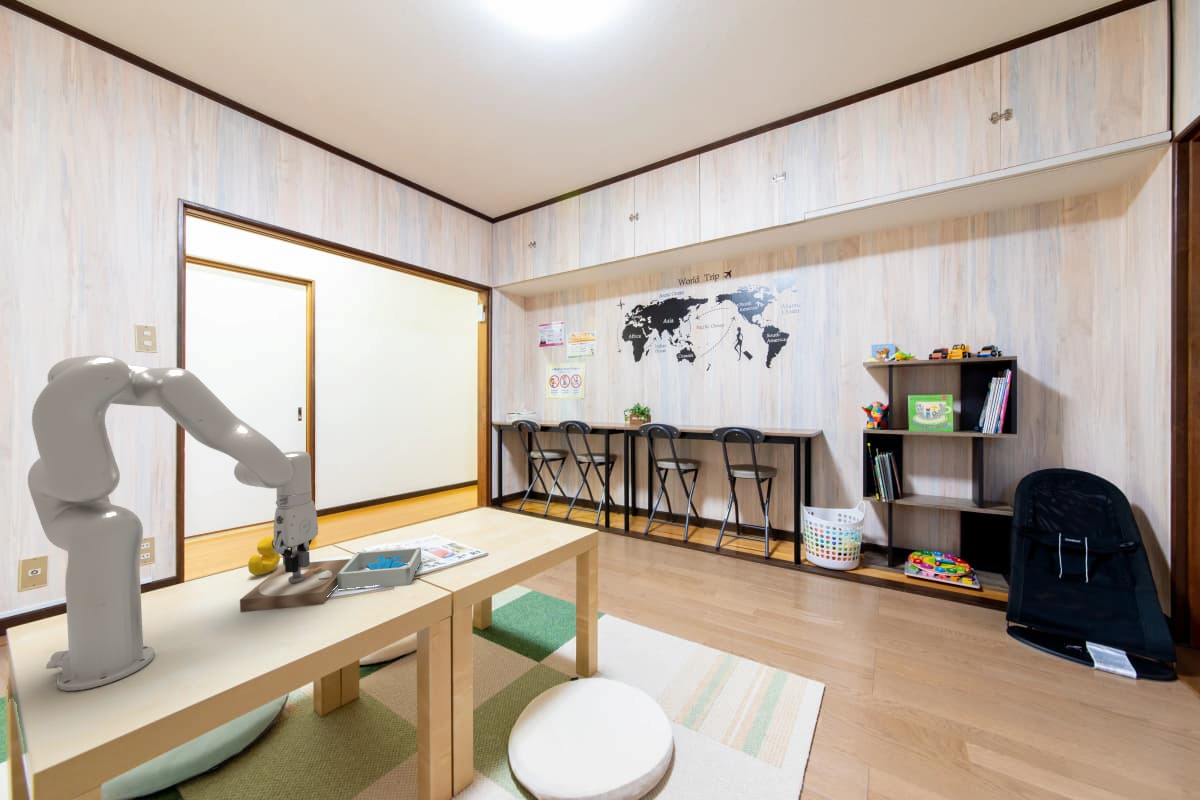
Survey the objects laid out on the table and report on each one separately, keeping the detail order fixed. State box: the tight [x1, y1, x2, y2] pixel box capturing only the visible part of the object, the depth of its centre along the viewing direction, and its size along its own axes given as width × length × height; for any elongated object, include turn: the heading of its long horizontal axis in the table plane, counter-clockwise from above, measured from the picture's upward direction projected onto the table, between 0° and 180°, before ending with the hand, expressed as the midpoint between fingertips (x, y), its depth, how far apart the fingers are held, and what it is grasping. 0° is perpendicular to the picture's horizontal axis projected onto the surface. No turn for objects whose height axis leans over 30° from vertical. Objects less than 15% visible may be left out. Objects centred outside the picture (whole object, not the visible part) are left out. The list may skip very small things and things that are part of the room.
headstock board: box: [239, 558, 351, 613], centre depth 121 cm, size 18×22×3 cm
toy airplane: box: [366, 555, 406, 570], centre depth 129 cm, size 12×10×4 cm
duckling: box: [247, 536, 281, 576], centre depth 132 cm, size 11×5×10 cm, turn 178°
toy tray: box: [337, 546, 422, 590], centre depth 129 cm, size 18×16×4 cm
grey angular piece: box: [282, 548, 322, 583], centre depth 120 cm, size 9×7×8 cm
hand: (296, 568), depth 118 cm, fingers closed on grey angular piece, 2 cm apart
